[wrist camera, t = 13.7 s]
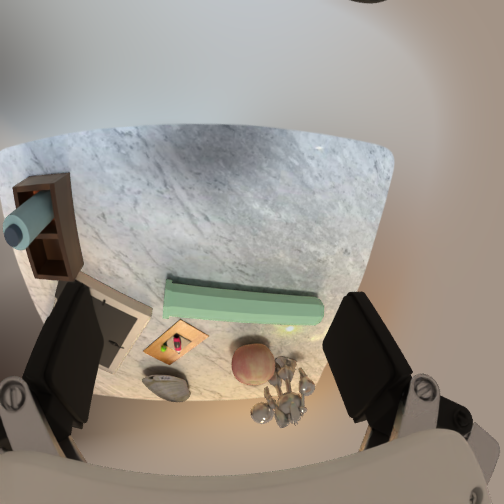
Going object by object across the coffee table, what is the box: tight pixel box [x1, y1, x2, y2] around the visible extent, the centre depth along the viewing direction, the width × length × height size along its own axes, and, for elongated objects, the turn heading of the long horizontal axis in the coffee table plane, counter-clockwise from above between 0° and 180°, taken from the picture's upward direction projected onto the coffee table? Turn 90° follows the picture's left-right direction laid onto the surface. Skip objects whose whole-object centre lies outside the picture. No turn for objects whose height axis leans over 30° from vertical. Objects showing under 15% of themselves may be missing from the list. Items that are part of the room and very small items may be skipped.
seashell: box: [142, 375, 191, 402], centre depth 50 cm, size 12×8×5 cm
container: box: [163, 279, 324, 325], centre depth 41 cm, size 6×6×25 cm
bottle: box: [3, 190, 54, 250], centre depth 25 cm, size 4×4×10 cm
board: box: [143, 319, 209, 365], centre depth 46 cm, size 6×12×2 cm, turn 132°
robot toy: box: [251, 356, 315, 428], centre depth 48 cm, size 15×6×15 cm, turn 131°
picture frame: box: [53, 271, 153, 374], centre depth 40 cm, size 16×3×21 cm
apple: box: [232, 344, 275, 385], centre depth 46 cm, size 8×8×8 cm
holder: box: [13, 173, 84, 281], centre depth 29 cm, size 7×14×4 cm, turn 173°
